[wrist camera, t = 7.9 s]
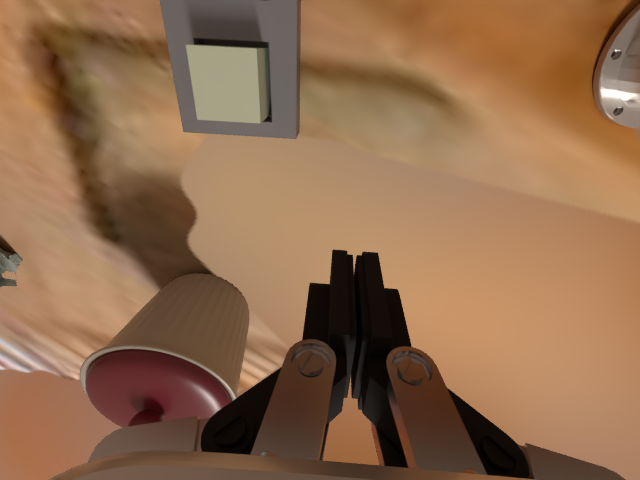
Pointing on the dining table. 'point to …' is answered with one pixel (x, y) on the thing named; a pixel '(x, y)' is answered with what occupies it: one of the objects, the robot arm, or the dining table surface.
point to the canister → (172, 355)
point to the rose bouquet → (8, 266)
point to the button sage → (230, 82)
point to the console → (246, 31)
